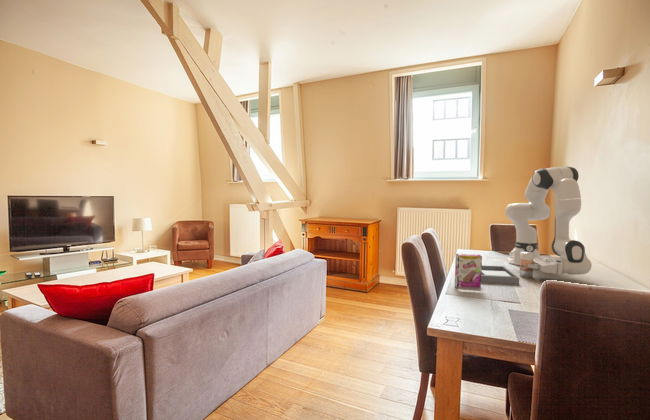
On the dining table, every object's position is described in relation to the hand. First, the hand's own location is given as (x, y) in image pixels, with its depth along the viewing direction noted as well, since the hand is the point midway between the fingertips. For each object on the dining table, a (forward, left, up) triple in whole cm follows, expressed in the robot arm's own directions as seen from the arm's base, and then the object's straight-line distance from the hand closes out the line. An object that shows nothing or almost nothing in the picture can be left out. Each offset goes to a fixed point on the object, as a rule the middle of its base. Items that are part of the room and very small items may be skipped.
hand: (524, 264), depth 178 cm
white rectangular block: (+10, -17, -7) cm, 21 cm away
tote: (+5, -17, -8) cm, 19 cm away
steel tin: (0, +1, -8) cm, 8 cm away
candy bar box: (+24, -33, -8) cm, 42 cm away
